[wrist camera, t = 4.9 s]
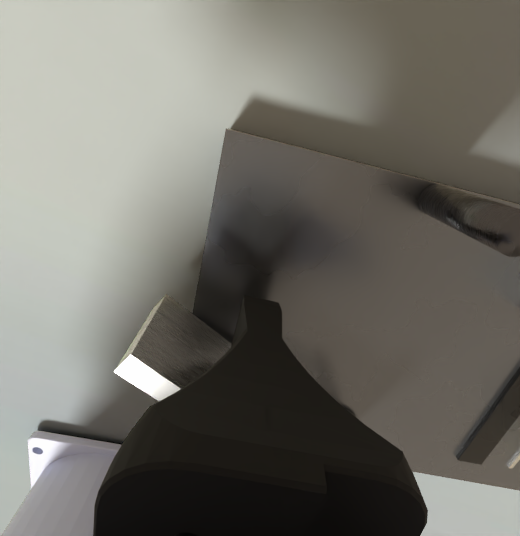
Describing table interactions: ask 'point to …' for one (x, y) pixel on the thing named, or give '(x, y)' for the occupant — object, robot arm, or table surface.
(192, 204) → the table surface
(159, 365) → the door
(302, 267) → the console plate
